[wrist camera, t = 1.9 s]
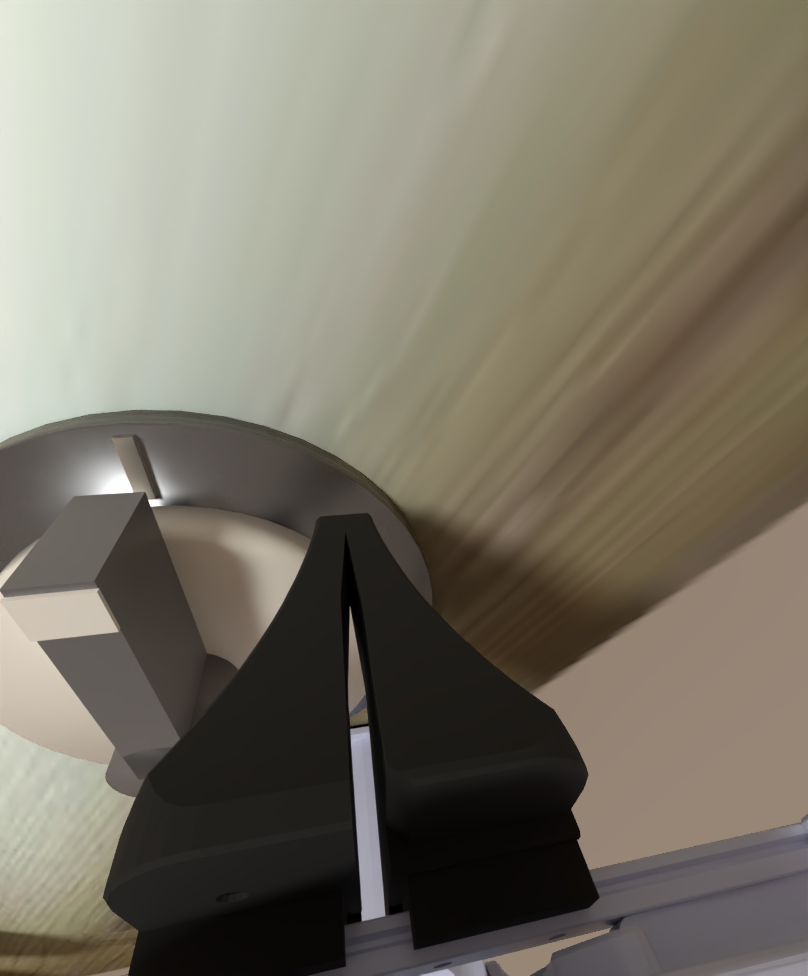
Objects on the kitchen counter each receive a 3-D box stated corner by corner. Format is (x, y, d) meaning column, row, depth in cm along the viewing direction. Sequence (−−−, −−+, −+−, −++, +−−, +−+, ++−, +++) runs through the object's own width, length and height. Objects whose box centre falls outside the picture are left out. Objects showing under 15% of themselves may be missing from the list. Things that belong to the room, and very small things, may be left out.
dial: (374, 709, 21) (387, 821, 17) (81, 753, 19) (23, 891, 15) (369, 448, 13) (391, 556, 9) (-151, 478, 11) (-402, 632, 7)
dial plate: (417, 704, 24) (421, 727, 23) (56, 759, 21) (43, 787, 20) (444, 397, 13) (454, 413, 12) (-256, 425, 11) (-313, 449, 10)
